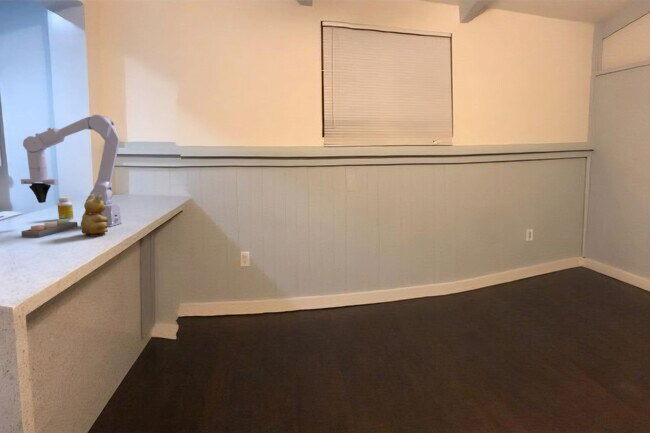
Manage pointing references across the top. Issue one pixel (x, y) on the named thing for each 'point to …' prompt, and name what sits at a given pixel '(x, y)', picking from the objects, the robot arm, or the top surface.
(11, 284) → the top surface
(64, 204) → the supplement bottle
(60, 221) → the sage button
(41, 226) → the terracotta button
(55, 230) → the panel
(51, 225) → the ivory button
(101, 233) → the decorative figurine
